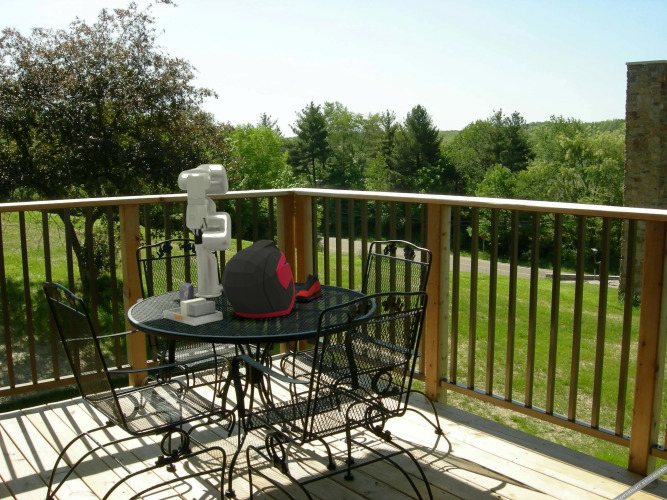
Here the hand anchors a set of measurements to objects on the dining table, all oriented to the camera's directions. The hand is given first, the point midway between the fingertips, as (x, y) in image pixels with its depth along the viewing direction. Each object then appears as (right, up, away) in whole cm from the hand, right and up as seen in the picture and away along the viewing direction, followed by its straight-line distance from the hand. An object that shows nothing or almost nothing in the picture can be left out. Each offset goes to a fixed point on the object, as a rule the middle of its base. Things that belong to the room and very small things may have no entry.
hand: (198, 244), depth 284 cm
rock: (-8, -28, +12) cm, 32 cm away
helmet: (+27, -30, -6) cm, 41 cm away
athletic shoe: (+47, -26, +21) cm, 58 cm away
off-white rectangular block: (+1, -31, -13) cm, 33 cm away
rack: (0, -31, -14) cm, 34 cm away
